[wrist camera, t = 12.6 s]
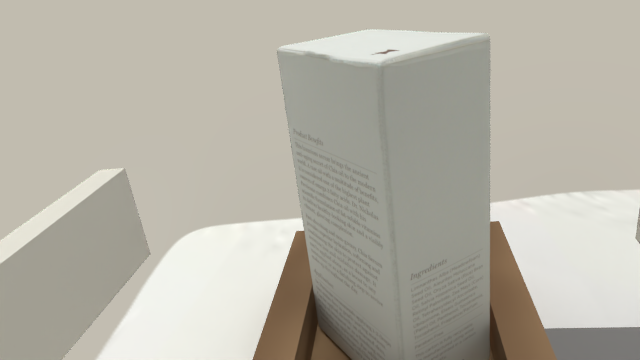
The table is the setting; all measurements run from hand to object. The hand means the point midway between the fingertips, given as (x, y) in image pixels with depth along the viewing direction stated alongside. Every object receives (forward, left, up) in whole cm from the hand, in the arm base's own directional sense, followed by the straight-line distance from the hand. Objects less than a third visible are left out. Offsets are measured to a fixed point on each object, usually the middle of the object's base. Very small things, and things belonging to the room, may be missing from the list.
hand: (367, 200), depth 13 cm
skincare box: (0, -4, -9) cm, 10 cm away
